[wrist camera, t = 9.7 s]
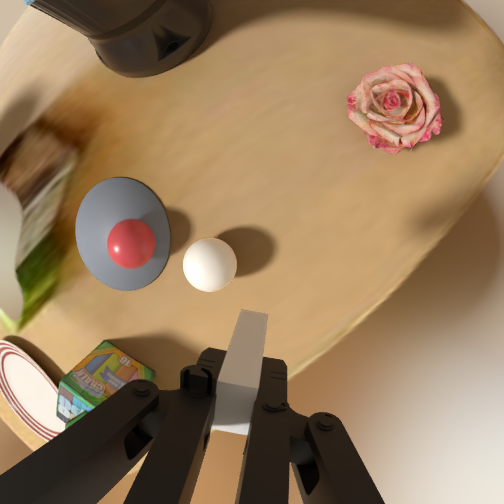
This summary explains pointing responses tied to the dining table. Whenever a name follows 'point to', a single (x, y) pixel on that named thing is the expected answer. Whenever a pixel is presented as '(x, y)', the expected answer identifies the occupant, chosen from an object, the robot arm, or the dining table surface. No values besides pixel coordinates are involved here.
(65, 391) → the chalk box
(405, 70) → the flower
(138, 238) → the red ball
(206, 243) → the cue ball
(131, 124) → the dining table surface
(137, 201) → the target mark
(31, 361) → the dinner plate
